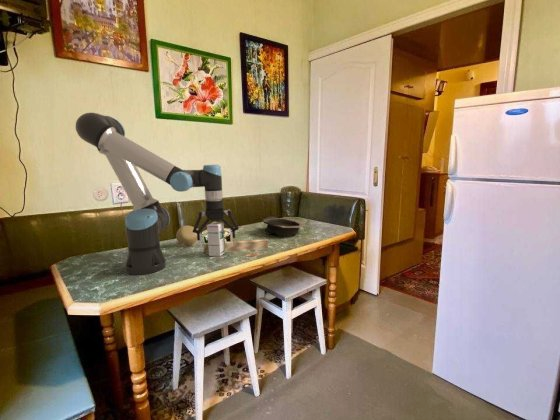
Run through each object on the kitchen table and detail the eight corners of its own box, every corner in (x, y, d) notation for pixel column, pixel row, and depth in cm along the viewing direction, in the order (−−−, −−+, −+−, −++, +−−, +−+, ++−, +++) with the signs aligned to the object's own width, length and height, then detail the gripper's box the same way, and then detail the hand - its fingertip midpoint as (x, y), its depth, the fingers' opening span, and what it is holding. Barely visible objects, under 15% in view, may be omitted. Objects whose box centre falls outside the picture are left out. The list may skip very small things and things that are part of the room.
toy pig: (204, 246, 153) (203, 225, 151) (180, 250, 146) (178, 229, 144) (198, 241, 161) (196, 222, 159) (174, 245, 154) (173, 225, 152)
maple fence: (202, 259, 132) (202, 251, 132) (204, 251, 144) (204, 243, 143) (270, 254, 138) (270, 246, 137) (267, 247, 149) (267, 239, 148)
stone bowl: (252, 233, 175) (253, 217, 174) (284, 229, 192) (285, 214, 191) (282, 241, 157) (282, 223, 156) (314, 235, 174) (314, 219, 173)
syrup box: (220, 256, 136) (219, 224, 133) (208, 255, 137) (206, 224, 135) (225, 252, 141) (224, 222, 139) (213, 252, 143) (211, 221, 140)
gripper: (183, 202, 129) (187, 250, 133) (242, 199, 133) (245, 246, 137) (186, 200, 136) (189, 245, 140) (241, 197, 140) (243, 241, 144)
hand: (217, 246), depth 138 cm, fingers open, 13 cm apart
